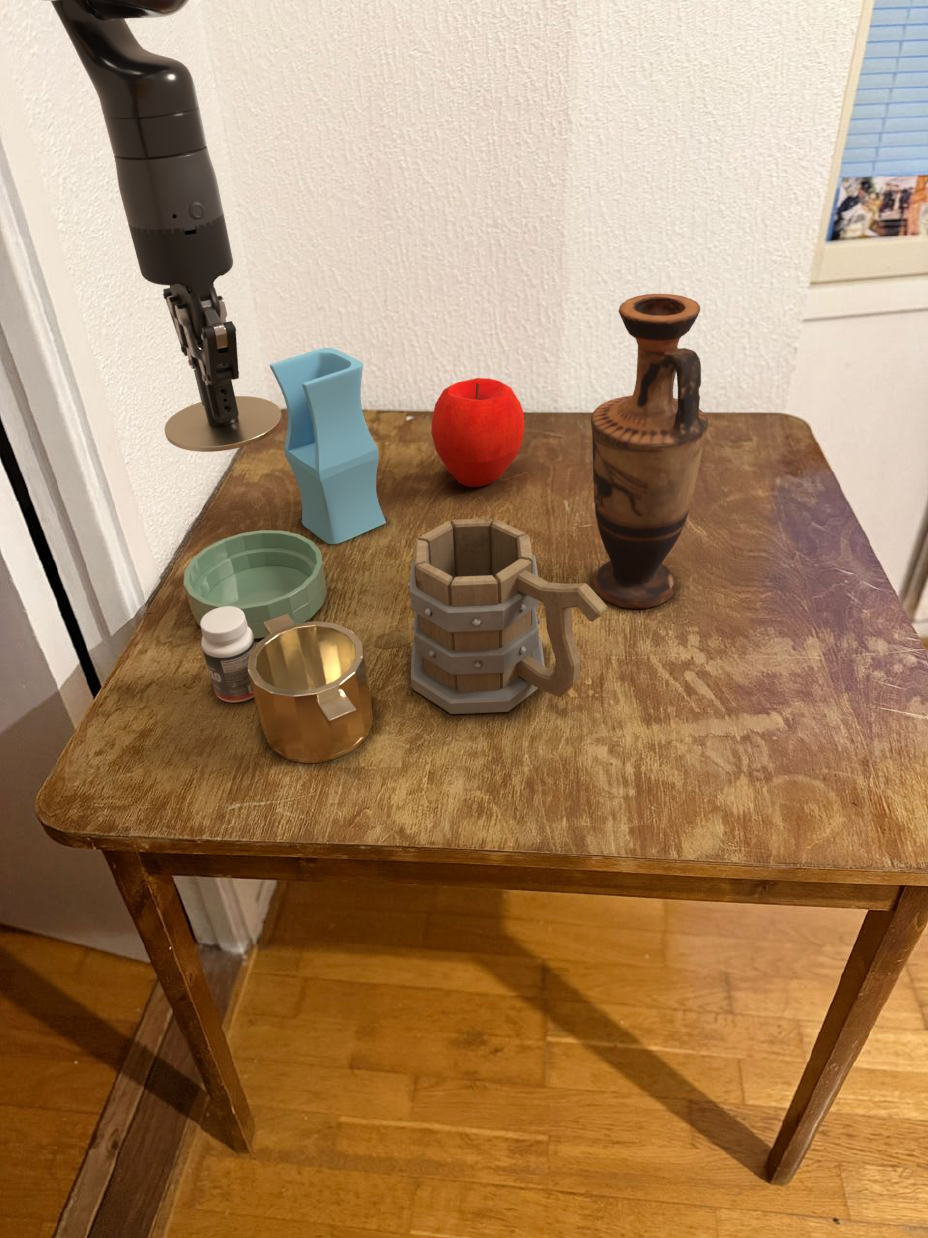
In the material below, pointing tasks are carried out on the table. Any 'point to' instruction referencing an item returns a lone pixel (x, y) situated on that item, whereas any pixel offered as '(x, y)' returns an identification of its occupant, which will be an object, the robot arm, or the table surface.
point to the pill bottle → (228, 652)
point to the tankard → (489, 619)
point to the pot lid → (207, 435)
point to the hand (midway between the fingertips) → (220, 412)
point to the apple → (477, 430)
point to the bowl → (258, 578)
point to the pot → (311, 689)
